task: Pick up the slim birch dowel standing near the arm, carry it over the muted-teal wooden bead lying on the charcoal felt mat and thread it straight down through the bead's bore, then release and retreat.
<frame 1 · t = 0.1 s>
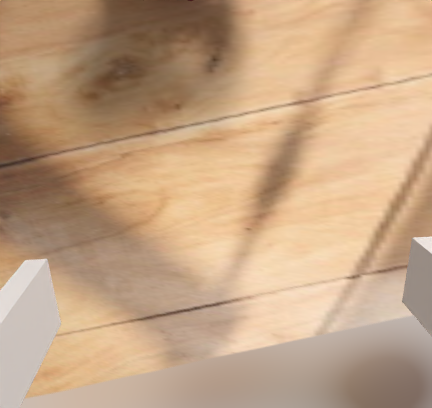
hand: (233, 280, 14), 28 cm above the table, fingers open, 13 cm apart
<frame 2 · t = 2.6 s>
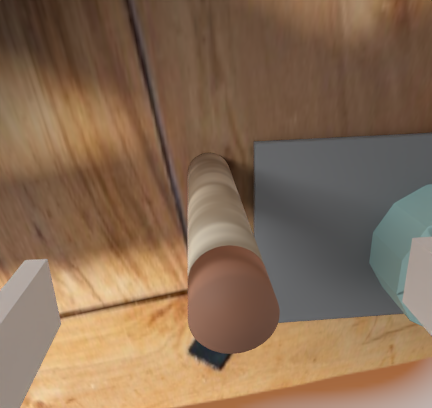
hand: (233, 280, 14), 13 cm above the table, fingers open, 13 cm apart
dowel: (208, 173, 26), on the table
mat: (390, 230, 28), on the table
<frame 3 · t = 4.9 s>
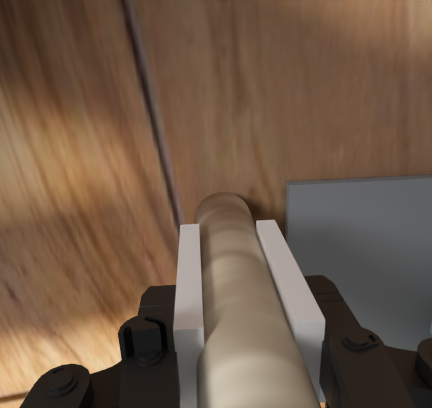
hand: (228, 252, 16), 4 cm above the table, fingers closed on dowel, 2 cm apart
dowel: (222, 218, 20), on the table, touching gripper
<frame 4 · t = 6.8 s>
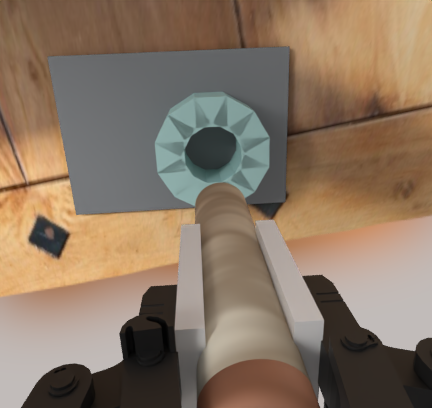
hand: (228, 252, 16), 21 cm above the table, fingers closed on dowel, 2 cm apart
dowel: (220, 206, 21), point 16 cm above the table, touching gripper
mat: (176, 134, 35), on the table
bead: (210, 144, 35), resting on mat
when the fingers open (6 cm above the table, at t = 9.3 s): dowel stays where it is, resting on mat.
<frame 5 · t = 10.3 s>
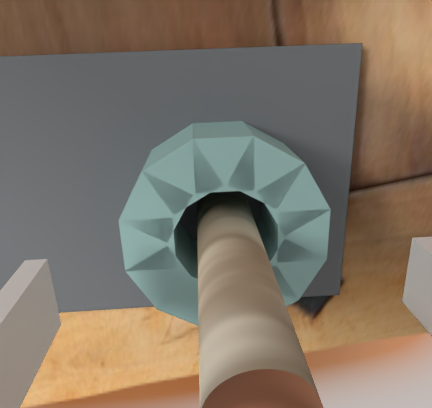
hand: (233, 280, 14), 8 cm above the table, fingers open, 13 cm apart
dowel: (222, 209, 21), point 1 cm above the table, touching mat
mat: (163, 189, 21), on the table
bead: (220, 208, 21), resting on mat
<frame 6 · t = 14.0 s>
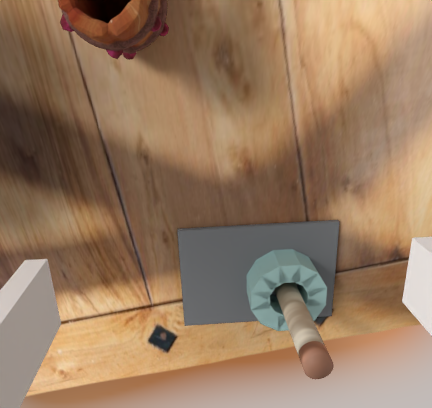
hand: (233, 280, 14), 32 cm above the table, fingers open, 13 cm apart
dowel: (282, 281, 51), point 1 cm above the table, touching mat
mat: (258, 273, 51), on the table
bead: (281, 281, 51), resting on mat
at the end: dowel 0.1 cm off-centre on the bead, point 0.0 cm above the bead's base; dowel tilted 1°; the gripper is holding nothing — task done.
